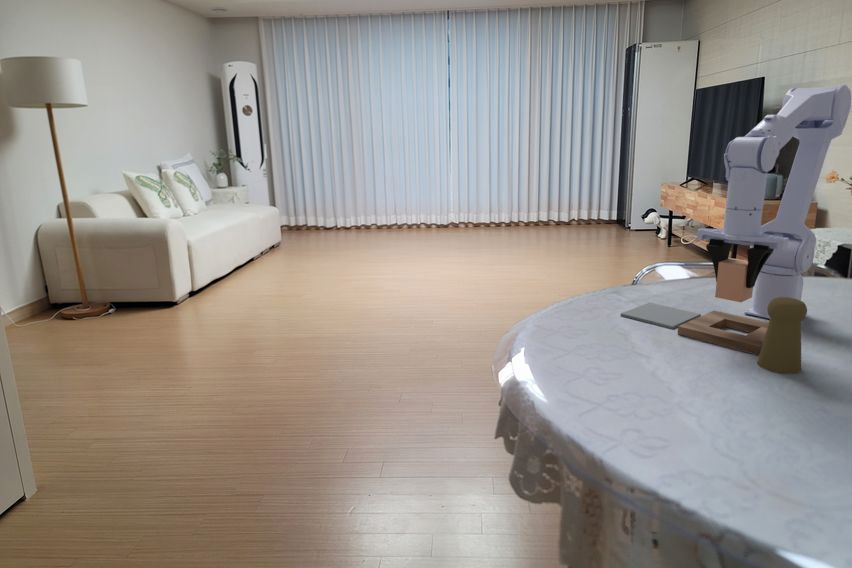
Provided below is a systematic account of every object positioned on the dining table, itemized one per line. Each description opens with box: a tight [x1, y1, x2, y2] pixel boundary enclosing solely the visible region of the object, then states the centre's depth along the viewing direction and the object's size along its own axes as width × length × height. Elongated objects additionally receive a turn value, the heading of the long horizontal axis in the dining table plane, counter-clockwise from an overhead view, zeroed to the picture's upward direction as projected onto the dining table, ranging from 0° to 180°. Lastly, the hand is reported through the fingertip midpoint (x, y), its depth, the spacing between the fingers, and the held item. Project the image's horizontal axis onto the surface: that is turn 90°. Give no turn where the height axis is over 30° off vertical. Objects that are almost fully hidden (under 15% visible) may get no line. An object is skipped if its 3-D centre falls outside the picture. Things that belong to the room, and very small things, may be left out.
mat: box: [620, 302, 702, 330], centre depth 118 cm, size 11×11×1 cm
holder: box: [677, 310, 769, 356], centre depth 107 cm, size 14×14×2 cm
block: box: [714, 257, 754, 303], centre depth 105 cm, size 4×4×6 cm
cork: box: [756, 297, 808, 375], centre depth 92 cm, size 6×6×11 cm
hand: (734, 284), depth 106 cm, fingers closed on block, 4 cm apart
